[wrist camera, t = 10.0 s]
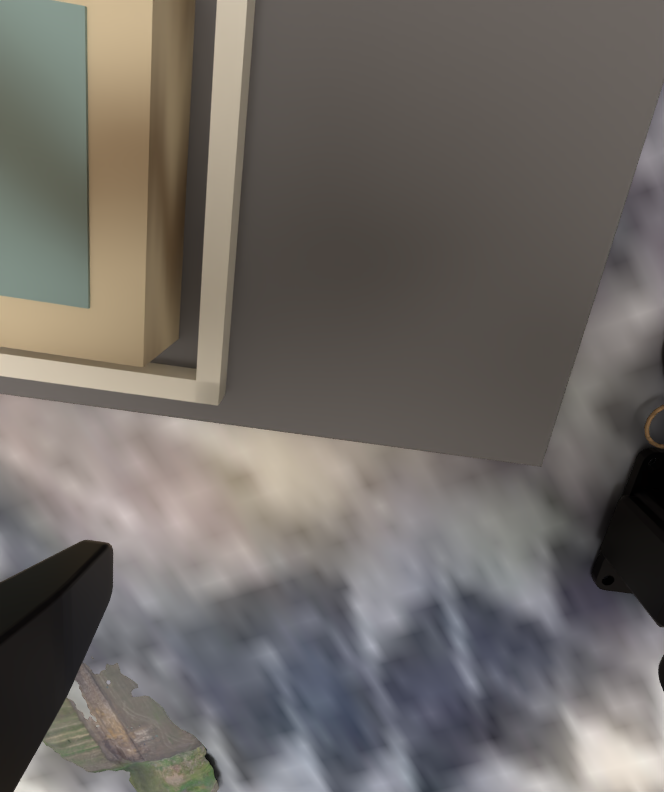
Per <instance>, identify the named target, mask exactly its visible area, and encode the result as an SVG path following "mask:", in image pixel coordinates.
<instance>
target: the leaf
mask: <svg viewBox="0 0 664 792" xmlns="http://www.w3.org/2000/svg"><path fill="white" fill-rule="evenodd" d="M92 659H93V658H92ZM107 680H110V682H111V683H110V684H109V685H108V684H107V683H106V681H107ZM75 681H77V682H78V684H79V685H80V686H79V689H80V690H81V692H82V696H83V698H84V699H85V700H86V702H87V705H88V708H89V709H90V714H91V715H93V716H95V717H96V719H97V722H95V721H93V720H92V717H89V719H88V720H87V719H85V718H84V715H83V713H82V712H80V711H79V710H77V708H76V707H75V704H74V702H73V701H72V700H70V699H68V698H66V699H65V701H64V703H63V705H62V707H61V709H60V710H59V712H58V714H57V716H56V718H55V720H54V721H53V723H52V725H51V727H50V728H49V730H48V732H47V734H46V735H45V737H44V739H43V742H44V743H45V744H46V746H49V747H51V748H53V750H54V751H55V752H57V753H59V754H60V755H61V757H62V758H64V759H66V760H68V761H71V762H73V763H75V764H76V765H78V766H80V767H82V768H84V769H85V770H86V771H87V772H94V773H95V772H102V771H105V770H113V771H118V770H125V771H129V772H130V776H131V777H130V779H129V781H130V782H131V784H132V785H133V786H134V788H135V789H136V790H137V792H217V790H218V789H219V786H218V782H217V780H216V779H215V777H214V773H213V771H214V770H213V768H212V766H211V765H210V764H209V761H207V760H206V758H205V757H204V756H205V755H206V749H205V747H204V746H203V745H202V743H201V742H199V741H198V740H197V738H196V737H195V736H194V735H192V734H190V733H187V732H186V731H184V730H181V729H180V728H179V727H177V726H176V725H175V724H174V723H173V722H172V721H171V720H170V719H169V718H168V716H167V714H166V712H165V711H164V709H163V708H162V707H161V706H160V705H159V704H158V703H157V702H155V701H154V700H153V699H151V698H150V697H148V696H142V697H132V694H131V691H132V690H133V689H135V688H138V685H137V684H136V683H135V682H134V681H133V680H131V679H129V678H128V677H126V676H124V675H122V674H121V673H120V669H119V666H118V663H116V664H115V665H108V664H107V665H106V670H103V671H101V672H100V674H99V675H98V674H96V675H95V674H93V673H92V670H90V668H89V667H88V666H87V665H86V664H85V663H83V662H82V664H81V666H80V669H79V671H78V673H77V676H76V678H75ZM96 725H100V727H96Z"/></svg>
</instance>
